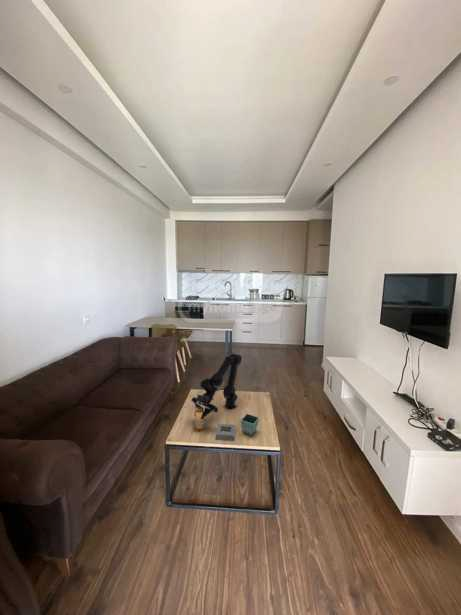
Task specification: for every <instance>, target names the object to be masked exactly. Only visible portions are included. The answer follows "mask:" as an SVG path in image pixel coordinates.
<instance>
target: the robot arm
mask: <svg viewBox="0 0 461 615" xmlns="http://www.w3.org/2000/svg"><path fill="white" fill-rule="evenodd" d="M242 358H243V357H242V356H241V355H240V354H237V353H232V354H229V355H226V356H225V359H224V361H223V362H222V364H221V365H220V367H219V368H218V370H217V372H214V373H213V375H212V376H211V377H210V378H208V377H206V378H205V379H203V380H202V381H201V382H200V388H201V389H203V390H204V391H205V392H204V393H203V394H197V397H195V396H194V397H192V398H191V402H192V403H193V404H194V405H195V409H196V408H197V407H204V412H203V414H202V417H201V419H203V418H205V417H206V416H208V415H209V414H210V413H213V412H214V413H216V414H217V412H218V411H219V407H217V406H216V405H214V404H212V401H214V396H215V394H216V393H217V392H219V389H218V387H221V385H222V384H223V381H224V376H225V374H226V372H227V371H228V369H229V368H230V369H229V375H228V380H227V385H226V386H225V387H224V388H223V392H222V395H223V397H224V399H225V404H224V407H225V408H227V409H229V410H232V409H235V408H237V405H236V401H237V400H238V395H237V394H236V388H235V385H236V384H235V383H236V378H237V373H238V372H237V371H238V368H239V366H240V364H241V362H242V360H243V359H242ZM194 418H196V411H195V410H194Z"/></svg>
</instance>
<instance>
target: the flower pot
mask: <svg viewBox="0 0 461 615" xmlns="http://www.w3.org/2000/svg"><path fill="white" fill-rule="evenodd" d="M259 420H260V417H258V416H256V415H253V414H249V413H245V415H244V416H243V417H242V418H241V420H240V425H241V430H242V432H243V434H246V435H250V436H252V435H253V434H254V433H255V432H256V430H257V428H258V425H259Z"/></svg>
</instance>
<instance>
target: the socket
mask: <svg viewBox="0 0 461 615" xmlns="http://www.w3.org/2000/svg"><path fill="white" fill-rule="evenodd" d="M235 438H236V424H227V423H217V428H216V433H215V440H221V441H222V440H223V441H235Z"/></svg>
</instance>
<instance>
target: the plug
mask: <svg viewBox="0 0 461 615" xmlns="http://www.w3.org/2000/svg"><path fill="white" fill-rule="evenodd" d="M204 410H205V407H204V406H201V407H197V408H196V407H195V409H194V412H195V411H196V417H194V419H193V424H194V425H195V428H196V429H198V430H201V429H204V427H205V424H206V418H205V417H204V418H203V419H201V417H202V414H203V412H204Z"/></svg>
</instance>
